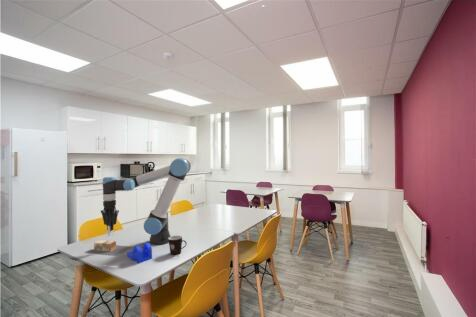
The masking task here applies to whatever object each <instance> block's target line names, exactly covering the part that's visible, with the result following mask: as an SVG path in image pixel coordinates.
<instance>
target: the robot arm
mask: <svg viewBox="0 0 476 317" xmlns="http://www.w3.org/2000/svg"><path fill="white" fill-rule="evenodd" d="M190 171H191V163H190V161H189V160H188V159H187V158H180V157H179V158H175V159H174V160H172V161H171V163H170V165H166V166H163V167H161V168H158V169H154V170H151V171H149V172H145V173H143V174H139V175H137V176H136V175H135V176H133V177H130V178H125V179H116V176H107V177H103V178H102V205H103V206H102V207H103V209H102V210H100V213H101V217H102V220H103V225H104V226H105V225H106V231H107V236H108V237H110V236H113V234H114V225H117V220H118V215H119V212H120V210H117V208H116V205H117V200H116V199H117V196H116V193H117V192H120V191H121V192H123V191H125V192H129V191H133V190H135V189H136V188H137V187H141V186H144V185H147V184H150V183H153V182H157V181H159V180H163V179H165V178H167V180H166V182H165V185H164V187H163V189H162V191H161V194H160V196H159V198H158V200H157V202H156V204H155V207H154V209H152V210H150V211H149V212H150V213H149V214H148V217H147V218H146V219H145V220H144V222H143V230H144V232H145V233H147V234H148V235H150V237H149V243H150V245H155V246H160V245H165V244H169V240H168V238H169V237H171V236H172V235H171V234H170V230H169V212H168V211H169V209H170V206H171V204H172V202H173V200H174V198H175V196H176V193H177V191H178V188H179V187H180V184H181V182H183V181H185V178H186V176H187V174H188V173H189V172H190Z"/></svg>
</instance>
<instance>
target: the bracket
mask: <svg viewBox="0 0 476 317" xmlns="http://www.w3.org/2000/svg"><path fill="white" fill-rule="evenodd" d="M132 248H133V249H132V250H129V251H128V252H127V253H126V254H127V258H129V259H130V260H132V261H134V262H136V263H138V264H142V263H143V262H147V261H150V260H151V259H153V248H152V244H150V242H146V243H144V244H143V245H142V248H141V246H140V245H137V246H133V247H132Z"/></svg>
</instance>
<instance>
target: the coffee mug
mask: <svg viewBox="0 0 476 317" xmlns="http://www.w3.org/2000/svg"><path fill="white" fill-rule="evenodd" d="M170 236H171V237H169V238H168V240H169V242H168V245H169V246H168V247H169V252H170V255H171V256H178V255H181V254H182V250H183V249H184V248H185V247H187V244H188V243H187V240H184V239H183V236H182V235H170ZM183 242H184V243H185V245H184V246H183ZM182 246H183V247H182Z"/></svg>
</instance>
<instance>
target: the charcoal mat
mask: <svg viewBox="0 0 476 317" xmlns="http://www.w3.org/2000/svg"><path fill="white" fill-rule="evenodd" d="M132 248H133V245H132V246H131V245H120V244H119V245H117V244H116V249H114V250H112V251H98V250H94V249H91V250H89V251H87V252H86V254H88V255H89V254H91V255H100V256H114V257H117V256H119V255H121V254H123V253H125V252H126V251H128V250H131V249H132Z"/></svg>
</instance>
